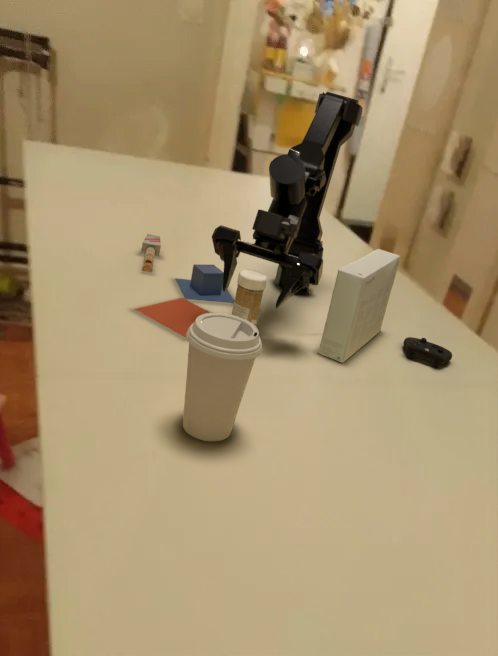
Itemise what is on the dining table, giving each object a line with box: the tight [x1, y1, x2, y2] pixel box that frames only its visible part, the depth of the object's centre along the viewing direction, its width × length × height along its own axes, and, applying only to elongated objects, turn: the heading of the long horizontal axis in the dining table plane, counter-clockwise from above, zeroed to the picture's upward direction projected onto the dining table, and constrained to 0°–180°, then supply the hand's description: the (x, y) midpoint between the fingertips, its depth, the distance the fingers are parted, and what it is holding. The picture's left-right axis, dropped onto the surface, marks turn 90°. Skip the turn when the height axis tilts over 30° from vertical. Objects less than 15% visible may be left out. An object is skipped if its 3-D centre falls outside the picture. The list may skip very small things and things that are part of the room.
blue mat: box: [175, 278, 235, 304], centre depth 132 cm, size 10×10×1 cm
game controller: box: [403, 336, 453, 368], centre depth 129 cm, size 10×5×6 cm
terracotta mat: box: [134, 297, 211, 338], centre depth 119 cm, size 12×12×1 cm
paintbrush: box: [140, 233, 162, 273], centre depth 142 cm, size 4×3×20 cm
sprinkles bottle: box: [230, 269, 268, 327], centre depth 110 cm, size 5×5×13 cm
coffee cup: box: [182, 312, 263, 442], centre depth 87 cm, size 10×10×15 cm
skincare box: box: [318, 248, 402, 364], centre depth 124 cm, size 21×5×16 cm, turn 154°
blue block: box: [190, 263, 224, 295], centre depth 131 cm, size 4×4×4 cm
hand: (250, 298), depth 110 cm, fingers open, 9 cm apart
